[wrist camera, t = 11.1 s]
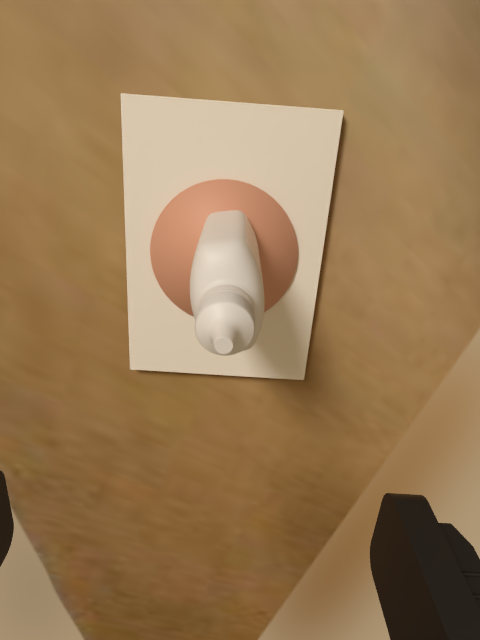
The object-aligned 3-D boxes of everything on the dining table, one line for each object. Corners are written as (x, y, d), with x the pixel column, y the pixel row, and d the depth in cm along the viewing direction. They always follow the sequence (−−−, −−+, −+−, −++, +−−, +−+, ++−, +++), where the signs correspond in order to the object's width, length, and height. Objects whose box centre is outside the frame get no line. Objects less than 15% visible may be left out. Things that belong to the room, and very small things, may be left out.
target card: (123, 94, 25) (119, 93, 24) (340, 110, 25) (344, 110, 24) (132, 364, 32) (129, 370, 31) (302, 374, 32) (304, 381, 31)
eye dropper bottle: (283, 227, 27) (311, 302, 16) (245, 307, 29) (247, 423, 18) (214, 197, 26) (195, 254, 15) (181, 282, 28) (142, 385, 17)
